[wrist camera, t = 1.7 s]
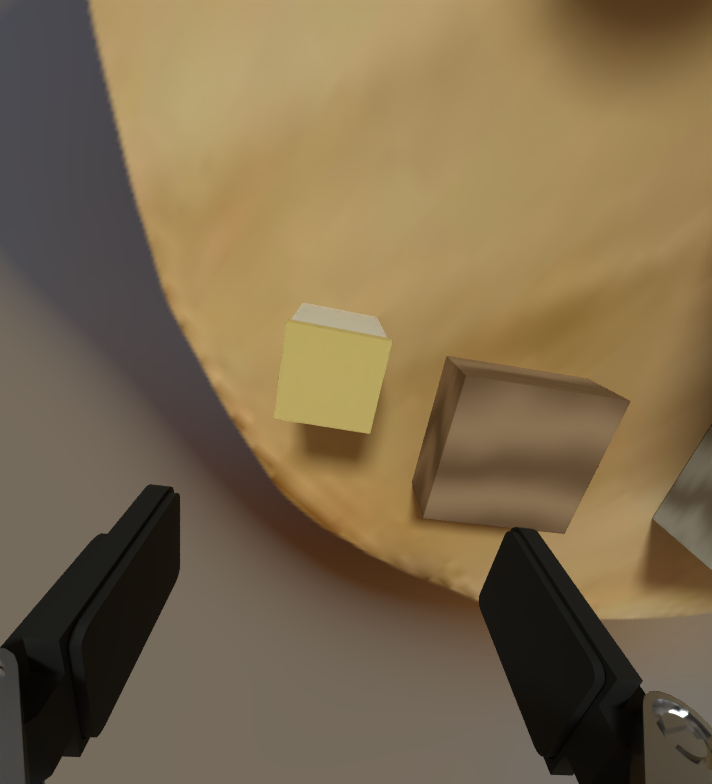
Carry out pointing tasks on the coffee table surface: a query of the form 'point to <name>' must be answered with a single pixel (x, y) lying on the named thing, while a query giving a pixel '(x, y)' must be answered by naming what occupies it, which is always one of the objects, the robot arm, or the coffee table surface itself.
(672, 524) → the grey crate
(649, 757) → the robot arm
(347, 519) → the coffee table surface
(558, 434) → the walnut box
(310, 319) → the tea tin
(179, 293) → the coffee table surface
